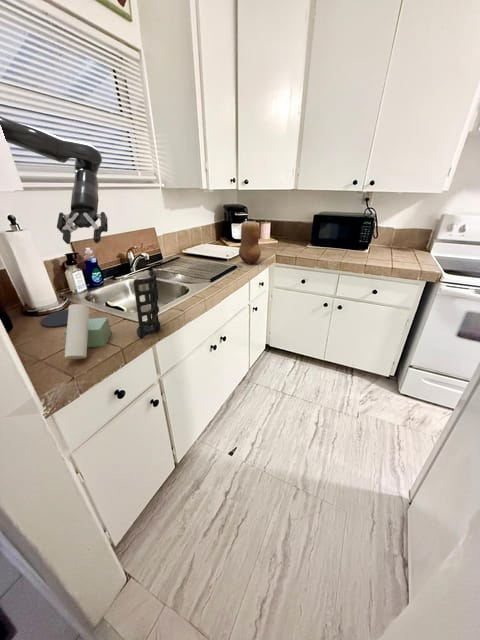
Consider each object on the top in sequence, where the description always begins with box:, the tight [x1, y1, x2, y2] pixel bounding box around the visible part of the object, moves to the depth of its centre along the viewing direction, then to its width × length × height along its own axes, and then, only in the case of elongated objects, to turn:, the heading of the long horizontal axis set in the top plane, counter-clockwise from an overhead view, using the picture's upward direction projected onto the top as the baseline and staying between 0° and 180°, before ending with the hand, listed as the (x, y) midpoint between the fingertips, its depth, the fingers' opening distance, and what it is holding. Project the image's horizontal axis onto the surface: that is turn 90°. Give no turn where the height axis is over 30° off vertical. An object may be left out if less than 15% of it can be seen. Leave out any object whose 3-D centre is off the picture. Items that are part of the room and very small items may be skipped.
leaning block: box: [63, 317, 113, 348], centre depth 82 cm, size 10×8×6 cm
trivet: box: [40, 308, 69, 329], centre depth 97 cm, size 14×14×1 cm
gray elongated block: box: [64, 303, 90, 360], centre depth 75 cm, size 5×14×14 cm, turn 9°
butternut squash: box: [238, 220, 262, 265], centre depth 158 cm, size 14×13×25 cm
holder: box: [133, 270, 161, 339], centre depth 85 cm, size 11×8×20 cm
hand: (81, 242), depth 81 cm, fingers open, 8 cm apart
